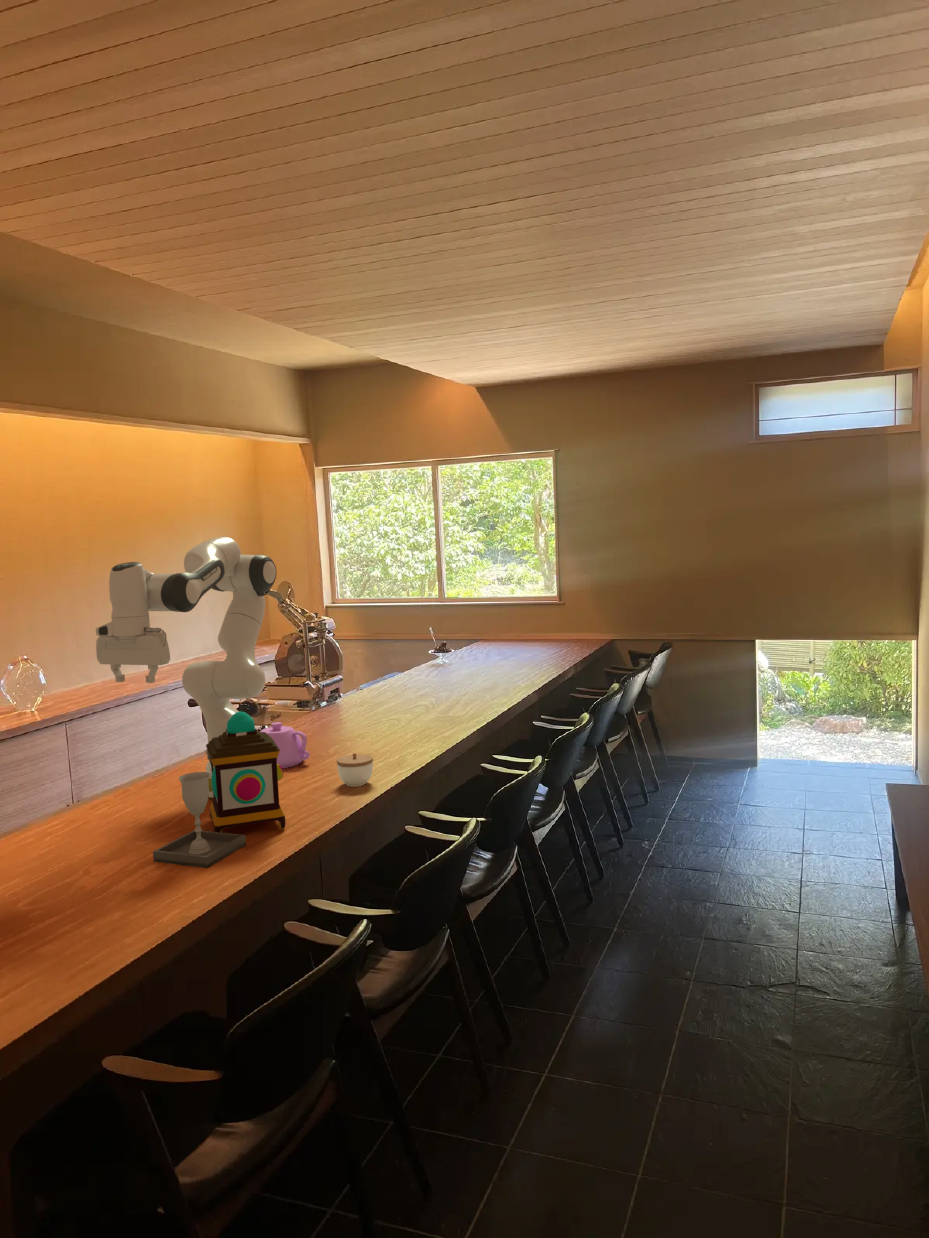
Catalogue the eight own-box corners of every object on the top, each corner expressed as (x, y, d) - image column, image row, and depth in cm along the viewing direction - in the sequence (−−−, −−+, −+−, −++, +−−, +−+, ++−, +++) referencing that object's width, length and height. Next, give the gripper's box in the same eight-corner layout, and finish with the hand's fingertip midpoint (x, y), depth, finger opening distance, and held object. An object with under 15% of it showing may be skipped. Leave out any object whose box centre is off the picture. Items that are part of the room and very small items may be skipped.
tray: (194, 839, 214) (194, 829, 214) (246, 844, 209) (245, 834, 208) (153, 861, 200) (152, 851, 200) (207, 868, 195) (206, 857, 194)
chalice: (204, 842, 209) (199, 770, 207) (221, 848, 205) (216, 774, 203) (178, 851, 203) (172, 777, 202) (194, 857, 199) (189, 782, 197)
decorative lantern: (204, 819, 230) (197, 708, 227) (279, 808, 236) (273, 700, 234) (210, 843, 211) (202, 723, 208) (291, 830, 218) (284, 714, 215)
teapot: (322, 757, 290) (319, 718, 289) (297, 772, 273) (294, 729, 272) (256, 755, 297) (253, 716, 296) (228, 768, 281) (225, 727, 279)
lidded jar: (330, 787, 255) (329, 756, 254) (351, 777, 264) (350, 747, 264) (360, 790, 250) (359, 759, 249) (381, 780, 259) (379, 750, 259)
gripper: (173, 626, 214) (177, 680, 216) (108, 626, 221) (112, 679, 223) (156, 629, 208) (160, 685, 210) (90, 629, 216) (94, 683, 217)
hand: (135, 682), depth 216 cm, fingers open, 8 cm apart
